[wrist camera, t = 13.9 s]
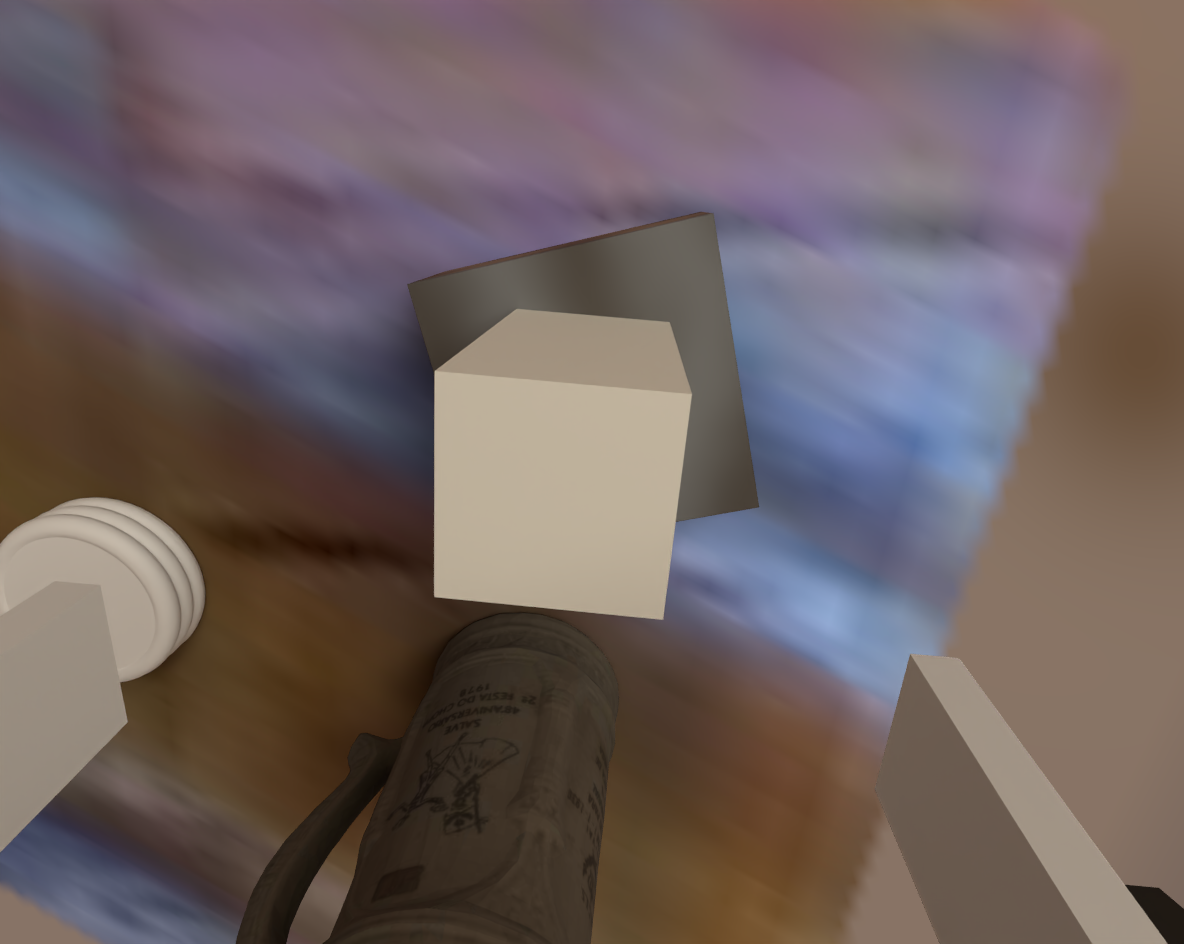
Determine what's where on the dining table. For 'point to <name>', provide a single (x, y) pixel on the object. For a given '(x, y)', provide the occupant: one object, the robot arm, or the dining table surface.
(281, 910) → the beer stein
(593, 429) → the cream block
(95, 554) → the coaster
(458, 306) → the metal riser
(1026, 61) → the dining table surface
